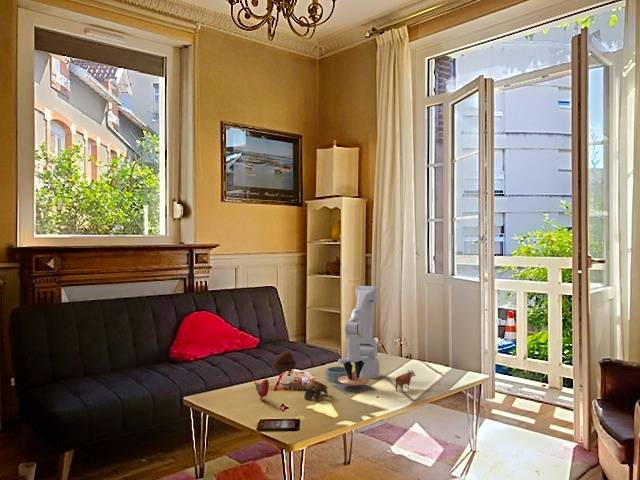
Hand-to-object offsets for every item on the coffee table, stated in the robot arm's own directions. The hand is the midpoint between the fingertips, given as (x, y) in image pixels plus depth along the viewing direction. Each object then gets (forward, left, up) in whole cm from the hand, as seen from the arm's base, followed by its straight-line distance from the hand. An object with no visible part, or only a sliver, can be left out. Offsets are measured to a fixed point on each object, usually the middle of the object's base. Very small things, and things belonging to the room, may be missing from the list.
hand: (353, 378), depth 248 cm
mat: (0, 0, -5) cm, 5 cm away
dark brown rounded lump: (+25, -21, -5) cm, 33 cm away
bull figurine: (-20, +11, -5) cm, 23 cm away
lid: (0, 0, -2) cm, 2 cm away
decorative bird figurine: (+43, -2, -5) cm, 43 cm away
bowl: (0, -15, -5) cm, 16 cm away
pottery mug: (+21, +6, -5) cm, 23 cm away
